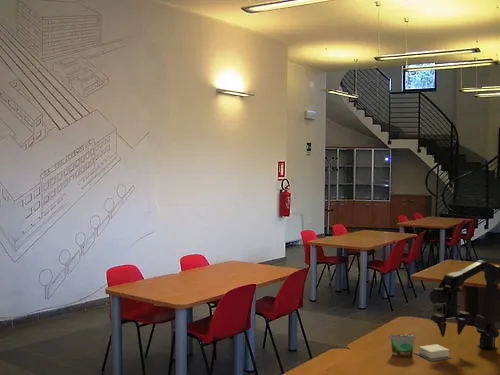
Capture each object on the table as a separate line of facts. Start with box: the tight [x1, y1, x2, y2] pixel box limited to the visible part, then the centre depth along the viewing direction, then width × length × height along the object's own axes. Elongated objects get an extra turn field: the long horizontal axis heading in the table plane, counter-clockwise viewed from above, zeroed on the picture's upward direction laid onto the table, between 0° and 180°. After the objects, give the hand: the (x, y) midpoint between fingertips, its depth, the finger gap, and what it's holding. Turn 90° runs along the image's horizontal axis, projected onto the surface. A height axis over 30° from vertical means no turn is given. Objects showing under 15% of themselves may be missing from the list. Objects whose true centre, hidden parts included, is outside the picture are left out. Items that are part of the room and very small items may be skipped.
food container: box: [389, 331, 416, 359], centre depth 246 cm, size 12×6×10 cm, turn 105°
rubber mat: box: [413, 350, 451, 362], centre depth 248 cm, size 11×12×1 cm
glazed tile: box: [418, 343, 450, 359], centre depth 248 cm, size 3×8×10 cm
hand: (450, 335), depth 251 cm, fingers open, 9 cm apart
